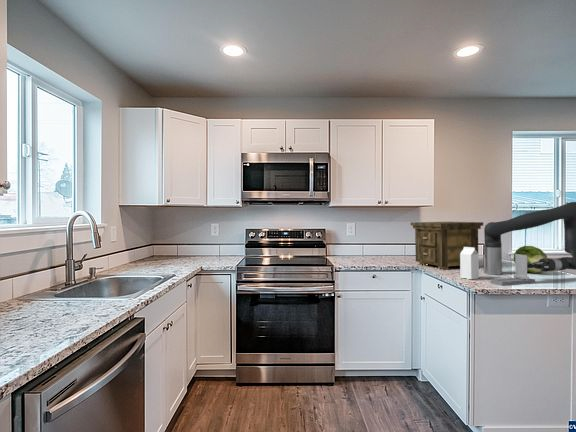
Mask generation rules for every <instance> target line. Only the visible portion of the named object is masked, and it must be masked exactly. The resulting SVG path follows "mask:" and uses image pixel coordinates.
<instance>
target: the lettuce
mask: <svg viewBox="0 0 576 432" xmlns="http://www.w3.org/2000/svg"><path fill="white" fill-rule="evenodd" d="M515 254H521V255H527V262H531V263H532V262H536V261H539V260H540V259H543V258H548V256H547V254H546V253H545V252H544V251H543V250H542V249H541V248H539V247H536V246H533V245H523V246H520V247H518V248H517V249H516V250H515V252H514V253H513V261H514V263H515ZM542 272H543V271H541V270H540V269H535V268H527V273H529V274H538V273H542Z"/></svg>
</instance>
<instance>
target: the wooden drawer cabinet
mask: <svg viewBox="0 0 576 432" xmlns="http://www.w3.org/2000/svg"><path fill="white" fill-rule="evenodd" d="M410 226H411V227H412V229H414V231H415V233H414V236H415V239H414V240H415V242H414V243H415V244H414V246H415V250H414V251H415V262H417V263H419V265H420V264H424V265H423V266H427V265H426V264H429V265H432V266H433V265H434V266H437V269H438V268H441V269H440V270H442V269H444V270H449V267H458V266H459V267H460V253H461V252H462V250H463V249H464V247H473V248H475V250H476V251H477V253H478V254H479V230H481V227H483V226H484V222H483V221H481V222H476V221H422V222H421V221H420V222H419V221H418V222H416V221H415V222H410Z"/></svg>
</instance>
